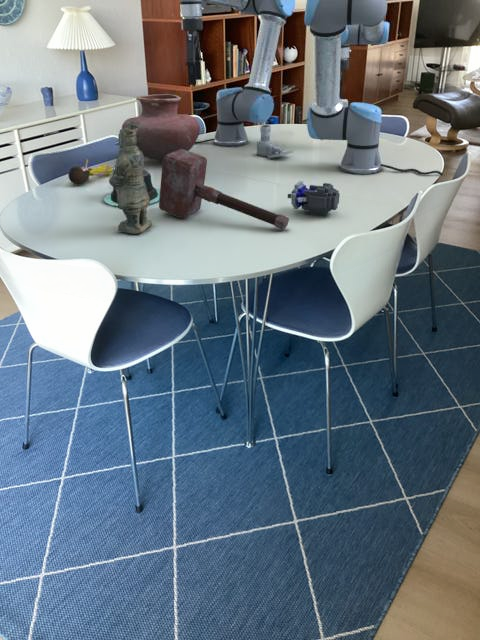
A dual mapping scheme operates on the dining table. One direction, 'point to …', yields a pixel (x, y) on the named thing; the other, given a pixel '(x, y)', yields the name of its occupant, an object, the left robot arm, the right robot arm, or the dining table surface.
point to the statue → (131, 182)
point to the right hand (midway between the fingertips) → (335, 118)
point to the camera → (268, 144)
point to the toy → (315, 198)
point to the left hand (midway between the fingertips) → (195, 82)
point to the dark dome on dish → (152, 192)
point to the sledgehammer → (200, 190)
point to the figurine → (87, 173)
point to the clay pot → (163, 127)
